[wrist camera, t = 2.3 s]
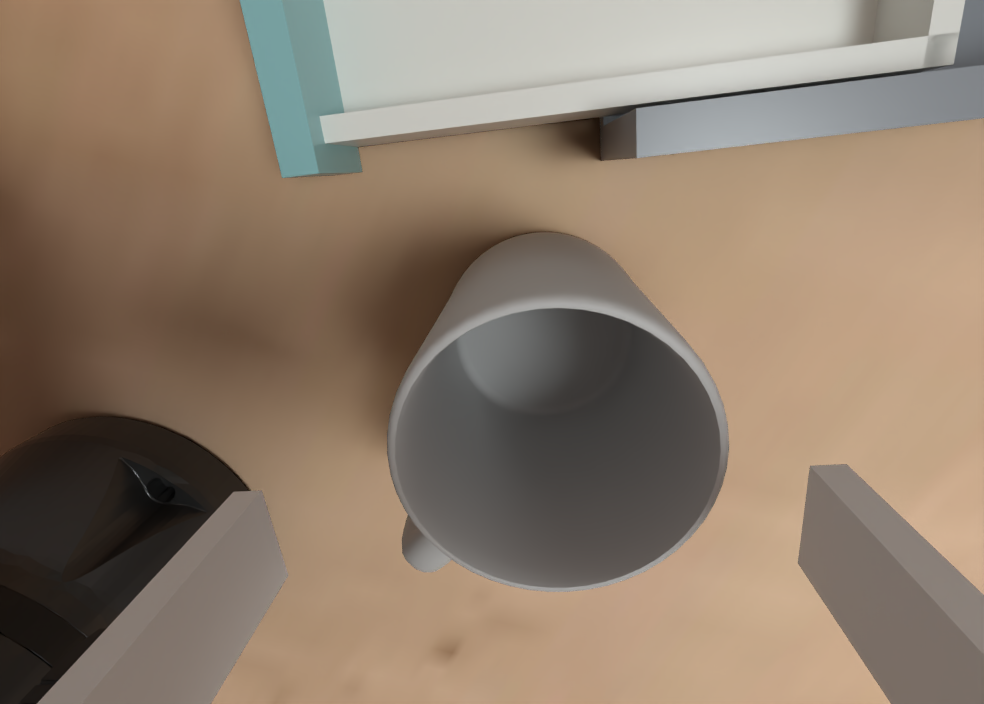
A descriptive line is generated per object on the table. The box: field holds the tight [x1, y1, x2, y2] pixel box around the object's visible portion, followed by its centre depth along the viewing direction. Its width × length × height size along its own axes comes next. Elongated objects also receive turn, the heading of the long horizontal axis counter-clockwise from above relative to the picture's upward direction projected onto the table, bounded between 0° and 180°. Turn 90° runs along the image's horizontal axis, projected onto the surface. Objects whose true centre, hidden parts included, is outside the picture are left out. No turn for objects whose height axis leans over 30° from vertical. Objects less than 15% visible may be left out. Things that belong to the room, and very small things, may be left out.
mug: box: [387, 232, 729, 592], centre depth 18 cm, size 12×8×11 cm
